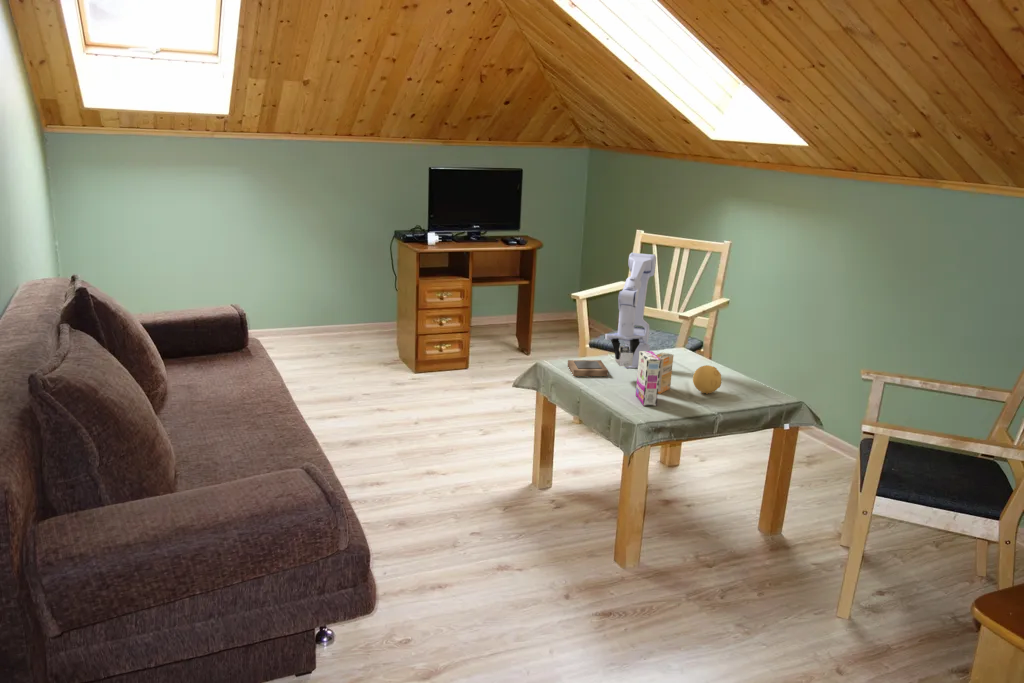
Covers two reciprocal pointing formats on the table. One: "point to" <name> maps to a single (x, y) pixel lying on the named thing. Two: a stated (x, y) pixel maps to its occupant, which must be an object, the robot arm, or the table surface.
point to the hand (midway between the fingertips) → (623, 358)
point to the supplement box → (665, 371)
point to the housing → (625, 356)
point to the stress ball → (707, 379)
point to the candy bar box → (648, 378)
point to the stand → (587, 368)
